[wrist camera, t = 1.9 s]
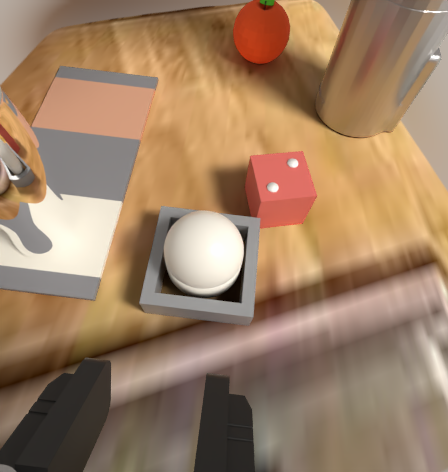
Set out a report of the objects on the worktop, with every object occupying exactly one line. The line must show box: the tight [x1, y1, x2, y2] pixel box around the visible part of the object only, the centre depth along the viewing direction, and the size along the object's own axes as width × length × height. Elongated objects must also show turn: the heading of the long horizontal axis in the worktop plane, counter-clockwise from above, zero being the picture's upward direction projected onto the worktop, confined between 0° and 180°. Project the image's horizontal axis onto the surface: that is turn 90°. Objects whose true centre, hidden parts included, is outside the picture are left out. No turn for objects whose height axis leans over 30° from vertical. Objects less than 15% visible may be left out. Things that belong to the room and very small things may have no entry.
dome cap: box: [164, 211, 244, 298], centre depth 28 cm, size 6×6×6 cm
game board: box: [0, 66, 158, 301], centre depth 36 cm, size 12×28×1 cm, turn 174°
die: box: [245, 151, 317, 228], centre depth 33 cm, size 5×5×5 cm
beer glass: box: [0, 86, 81, 259], centre depth 26 cm, size 7×7×15 cm
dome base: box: [139, 206, 260, 326], centre depth 30 cm, size 9×9×3 cm
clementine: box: [233, 0, 290, 64], centre depth 43 cm, size 8×7×7 cm
